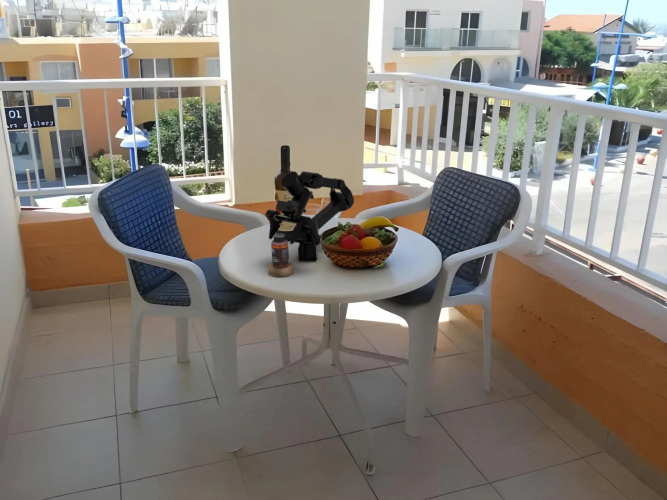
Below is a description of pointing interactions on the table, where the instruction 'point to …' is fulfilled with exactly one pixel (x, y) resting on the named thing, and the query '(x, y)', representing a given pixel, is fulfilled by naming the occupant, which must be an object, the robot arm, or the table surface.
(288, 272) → the walnut stand
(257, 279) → the table surface
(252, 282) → the table surface
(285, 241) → the supplement bottle
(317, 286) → the table surface
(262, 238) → the table surface
